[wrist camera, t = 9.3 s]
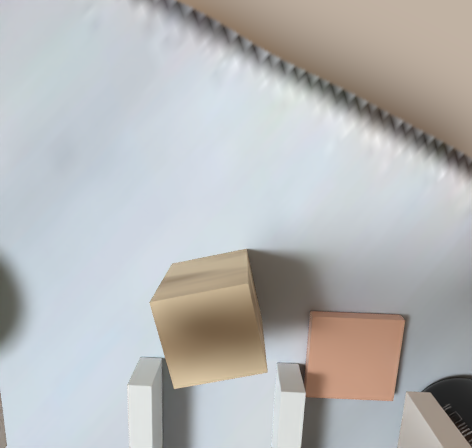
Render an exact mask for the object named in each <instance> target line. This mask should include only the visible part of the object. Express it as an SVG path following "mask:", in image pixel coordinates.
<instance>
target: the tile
mask: <svg viewBox="0 0 472 448" xmlns="http://www.w3.org/2000/svg"><path fill="white" fill-rule="evenodd" d="M404 325H405V320H404V319H403V317H402V316H401V315H395V314H370V313H346V312H322V311H310V319H309V331H308V342H307V354H306V365H305V376H304V388H305V392H306V395H305V397H313V398H336V399H359V400H382V401H393V398H394V392H395V385H396V378H397V372H398V365H399V358H400V352H401V345H402V338H403V332H404Z"/></svg>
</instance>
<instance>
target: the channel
mask: <svg viewBox="0 0 472 448" xmlns="http://www.w3.org/2000/svg"><path fill="white" fill-rule="evenodd" d="M127 394H128V426H129V448H163V424H162V358H149V357H140V359H139V361H138V363H137V366H136V368H135V370H134V372H133V374H132V376H131V378H130V380H129V382H128V384H127ZM305 395H306V392H305V388H304V384H303V380H302V376H301V372H300V368H299V364H289V363H277V367H276V381H275V396H274V411H273V425H272V440H271V448H301V440H302V429H303V418H304V407H305Z"/></svg>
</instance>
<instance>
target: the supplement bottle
mask: <svg viewBox="0 0 472 448" xmlns="http://www.w3.org/2000/svg"><path fill="white" fill-rule="evenodd" d="M423 392H430V393H431V394H432V395H433V397H434V398H435V399H436V401H437V402H438V403H439V405H440V406H441V407H442V409H443V410H444V411H445V413H446V414H447V415H448V417H449V418H450V419H451V421H452V422H453V423H454V424H455V426H456V427H457V428H458V430H459V431H460V432H461V434H462V435H463V436H464V438H465V439H466V440H467V442H468V443H469V444H470V446H471V447H472V379H467V378H451V379H446V380H442V381H439V382H437V383H435V384H433V385H431V386H429V387H428V388H426V389H425V390H424V391H423Z"/></svg>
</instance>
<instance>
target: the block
mask: <svg viewBox="0 0 472 448" xmlns="http://www.w3.org/2000/svg"><path fill="white" fill-rule="evenodd" d="M150 306H151V310H152V313H153V317H154V320H155V324H156V327H157V331H158V334H159V338H160V341H161V345H162V348H163V352H164V355H165V359H166V362H167V366H168V369H169V373H170V376H171V380H172V383H173V387H174V389H177V388H183V387H189V386H194V385H200V384H205V383H211V382H217V381H222V380H228V379H234V378H239V377H245V376H250V375H256V374H262V373H267V372H268V371H267V362H266V353H265V344H264V334H263V325H262V317H261V312H260V308H259V303H258V299H257V294H256V289H255V285H254V280H253V275H252V271H251V266H250V261H249V257H248V252H247V249H243V250H238V251H233V252H228V253H223V254H218V255H213V256H208V257H203V258H198V259H193V260H188V261H183V262H178V263H173V264H172V265H171V267H170V268H169V270H168V272H167V273H166V275H165V277H164V279H163V280H162V282H161V284H160V285H159V287H158V289H157V290H156V292H155V294H154V296H153V297H152V299H151V301H150Z"/></svg>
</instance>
